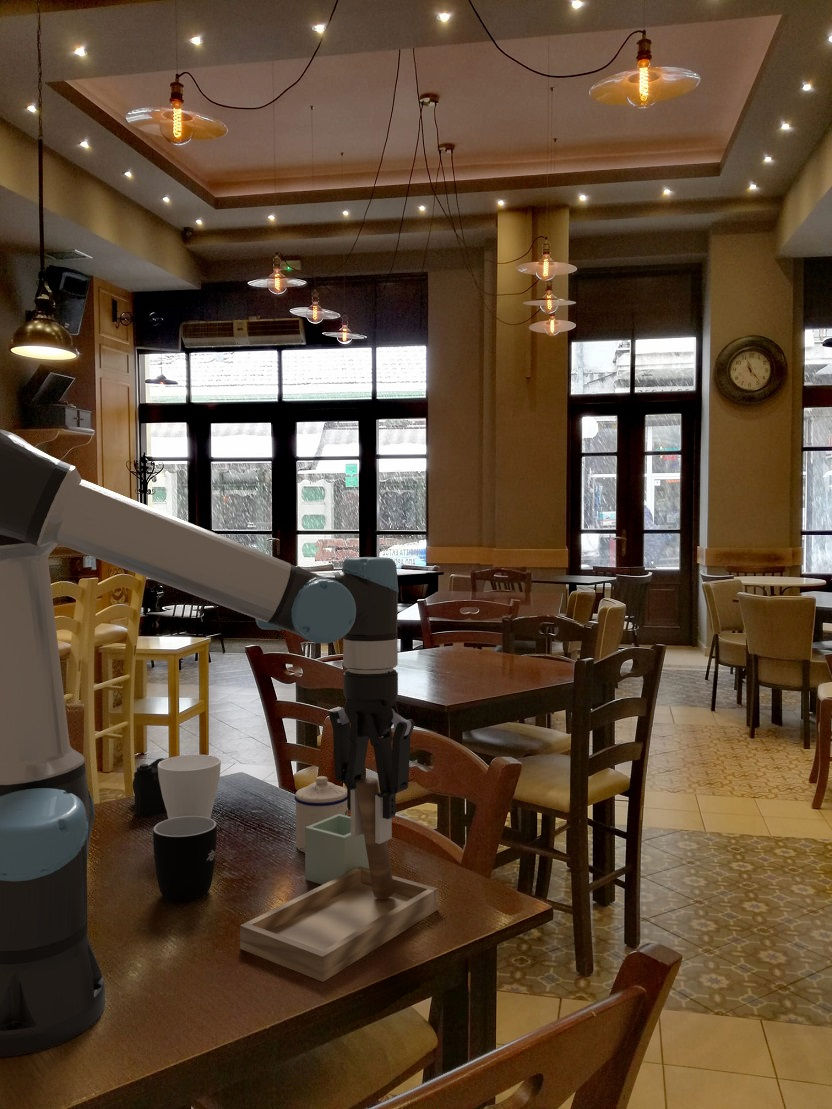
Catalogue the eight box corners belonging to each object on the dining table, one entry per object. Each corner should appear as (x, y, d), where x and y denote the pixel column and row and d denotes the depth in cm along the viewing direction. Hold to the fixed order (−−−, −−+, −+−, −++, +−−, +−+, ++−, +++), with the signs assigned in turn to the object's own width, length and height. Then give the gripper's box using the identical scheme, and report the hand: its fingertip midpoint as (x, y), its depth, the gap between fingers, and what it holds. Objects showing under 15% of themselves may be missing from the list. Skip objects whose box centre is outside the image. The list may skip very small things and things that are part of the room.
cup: (189, 856, 142) (188, 774, 142) (144, 844, 148) (144, 765, 147) (234, 836, 151) (233, 759, 151) (190, 826, 157) (190, 751, 156)
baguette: (370, 910, 119) (368, 784, 118) (353, 904, 120) (351, 781, 120) (398, 893, 124) (397, 773, 123) (382, 888, 126) (380, 770, 125)
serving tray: (323, 981, 103) (322, 956, 102) (240, 948, 111) (240, 925, 111) (437, 909, 122) (437, 888, 122) (360, 886, 130) (360, 866, 130)
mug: (215, 905, 124) (214, 834, 123) (149, 909, 122) (149, 838, 122) (219, 872, 136) (219, 807, 135) (160, 876, 134) (159, 811, 134)
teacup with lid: (355, 852, 144) (354, 782, 144) (300, 859, 141) (300, 787, 141) (337, 828, 155) (337, 763, 155) (286, 834, 152) (286, 768, 152)
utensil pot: (344, 891, 128) (344, 837, 128) (305, 879, 133) (305, 827, 133) (377, 874, 135) (377, 823, 134) (338, 863, 139) (338, 813, 139)
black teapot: (185, 792, 178) (184, 743, 178) (210, 804, 170) (209, 753, 169) (118, 806, 169) (117, 754, 168) (141, 820, 161) (140, 766, 160)
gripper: (436, 671, 118) (436, 841, 119) (342, 660, 128) (342, 818, 129) (403, 678, 112) (403, 858, 113) (307, 667, 122) (308, 832, 123)
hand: (371, 836), depth 121 cm, fingers open, 4 cm apart
